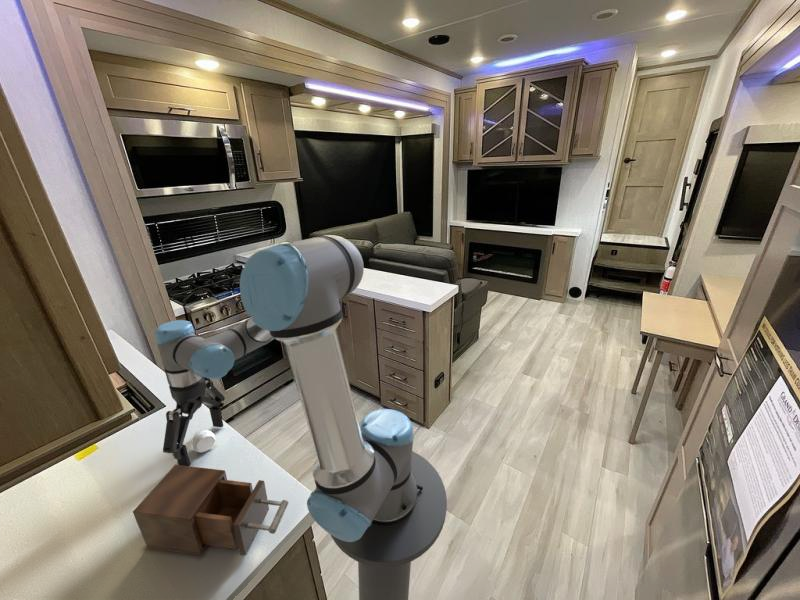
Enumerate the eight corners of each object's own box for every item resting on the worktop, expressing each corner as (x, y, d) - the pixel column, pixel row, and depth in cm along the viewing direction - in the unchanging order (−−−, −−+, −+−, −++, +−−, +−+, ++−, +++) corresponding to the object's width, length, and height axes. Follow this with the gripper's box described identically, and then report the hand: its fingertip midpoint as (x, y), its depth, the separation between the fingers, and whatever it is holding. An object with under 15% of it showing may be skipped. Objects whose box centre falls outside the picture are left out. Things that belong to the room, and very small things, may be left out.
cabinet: (233, 504, 72) (225, 470, 68) (201, 555, 62) (190, 519, 59) (185, 498, 73) (175, 464, 69) (147, 547, 63) (132, 511, 60)
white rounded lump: (209, 434, 91) (206, 419, 89) (218, 445, 88) (214, 430, 86) (188, 445, 87) (184, 430, 85) (196, 457, 84) (192, 441, 82)
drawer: (294, 512, 70) (290, 483, 67) (274, 559, 61) (268, 529, 58) (224, 503, 72) (217, 475, 68) (195, 548, 63) (186, 518, 60)
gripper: (205, 352, 91) (218, 411, 99) (128, 412, 68) (152, 482, 76) (230, 355, 91) (241, 413, 99) (160, 416, 68) (182, 486, 75)
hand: (202, 444), depth 87 cm, fingers open, 13 cm apart
